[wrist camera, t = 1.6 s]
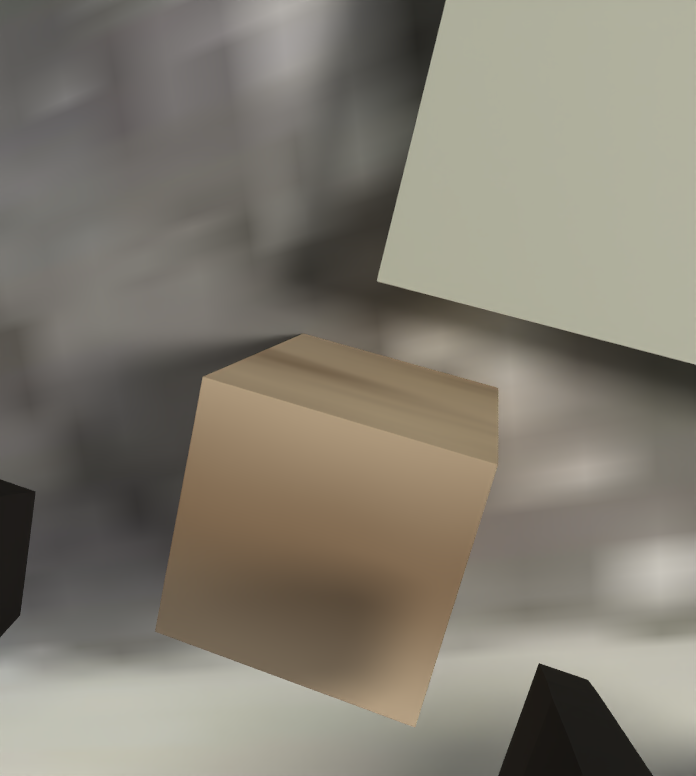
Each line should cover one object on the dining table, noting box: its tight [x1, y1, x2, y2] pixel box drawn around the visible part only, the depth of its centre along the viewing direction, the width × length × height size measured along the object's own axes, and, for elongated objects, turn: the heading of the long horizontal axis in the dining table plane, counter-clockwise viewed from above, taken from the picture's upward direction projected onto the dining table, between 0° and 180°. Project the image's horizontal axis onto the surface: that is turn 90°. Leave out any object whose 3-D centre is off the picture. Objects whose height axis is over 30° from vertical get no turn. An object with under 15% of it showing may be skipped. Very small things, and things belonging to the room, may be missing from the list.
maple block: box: [155, 334, 498, 727], centre depth 14 cm, size 5×5×6 cm
